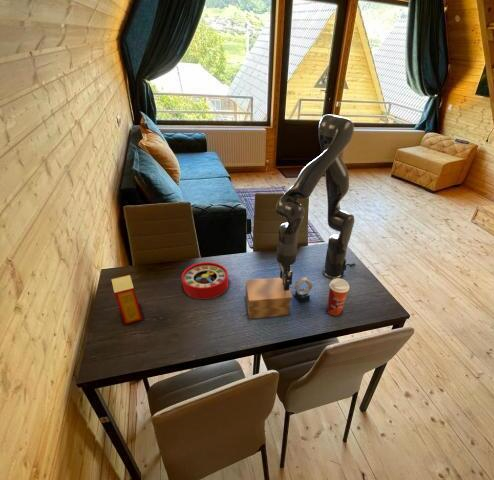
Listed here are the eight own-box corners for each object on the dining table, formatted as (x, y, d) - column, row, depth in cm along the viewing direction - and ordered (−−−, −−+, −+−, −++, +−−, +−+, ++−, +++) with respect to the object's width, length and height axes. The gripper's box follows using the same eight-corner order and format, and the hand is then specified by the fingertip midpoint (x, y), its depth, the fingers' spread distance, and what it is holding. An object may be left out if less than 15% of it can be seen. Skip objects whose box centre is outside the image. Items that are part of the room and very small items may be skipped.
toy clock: (213, 257, 153) (236, 277, 141) (214, 267, 156) (236, 287, 145) (173, 271, 141) (195, 294, 130) (175, 282, 145) (197, 305, 133)
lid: (286, 278, 138) (286, 268, 134) (292, 298, 127) (293, 288, 124) (245, 281, 134) (245, 270, 131) (248, 302, 123) (248, 291, 120)
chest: (282, 294, 143) (284, 278, 138) (289, 315, 132) (290, 298, 127) (245, 297, 140) (245, 281, 134) (249, 318, 129) (248, 302, 124)
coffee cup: (331, 319, 132) (337, 291, 123) (321, 307, 137) (325, 280, 128) (347, 314, 135) (354, 286, 126) (336, 302, 141) (342, 275, 132)
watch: (312, 299, 141) (315, 280, 135) (297, 304, 138) (299, 284, 131) (306, 292, 145) (309, 273, 138) (291, 296, 142) (293, 277, 135)
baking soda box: (121, 309, 128) (110, 278, 119) (138, 304, 131) (129, 273, 122) (125, 324, 122) (114, 292, 112) (142, 319, 125) (133, 287, 115)
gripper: (300, 259, 116) (297, 293, 126) (292, 240, 127) (289, 273, 137) (280, 260, 114) (278, 295, 124) (274, 241, 125) (272, 274, 135)
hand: (284, 283), depth 130 cm, fingers open, 7 cm apart
